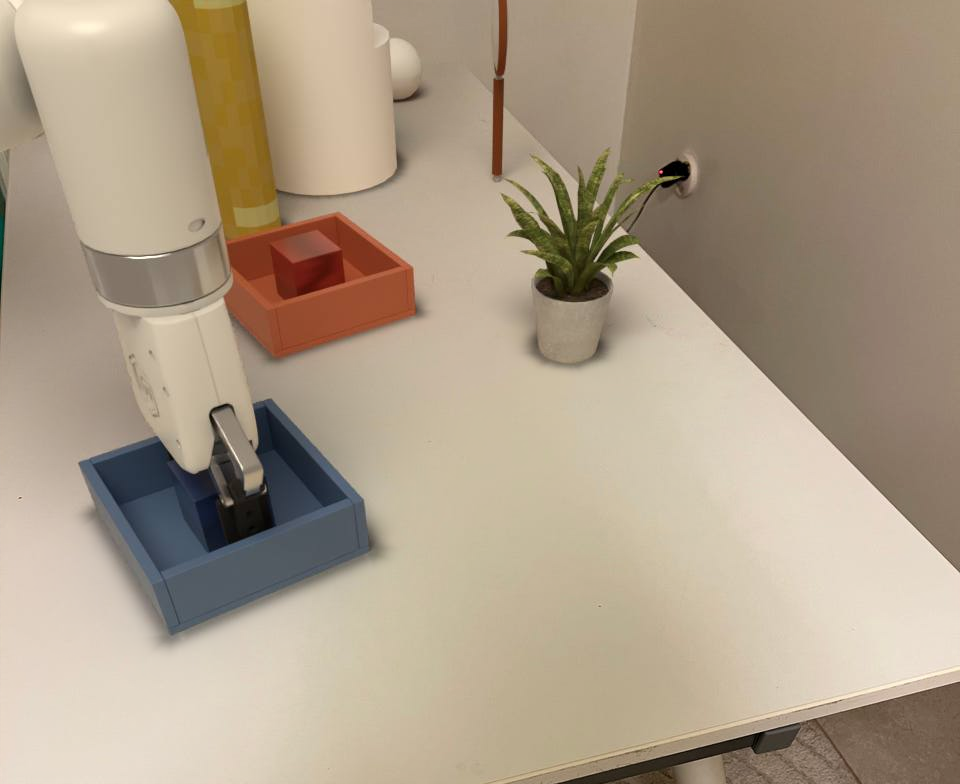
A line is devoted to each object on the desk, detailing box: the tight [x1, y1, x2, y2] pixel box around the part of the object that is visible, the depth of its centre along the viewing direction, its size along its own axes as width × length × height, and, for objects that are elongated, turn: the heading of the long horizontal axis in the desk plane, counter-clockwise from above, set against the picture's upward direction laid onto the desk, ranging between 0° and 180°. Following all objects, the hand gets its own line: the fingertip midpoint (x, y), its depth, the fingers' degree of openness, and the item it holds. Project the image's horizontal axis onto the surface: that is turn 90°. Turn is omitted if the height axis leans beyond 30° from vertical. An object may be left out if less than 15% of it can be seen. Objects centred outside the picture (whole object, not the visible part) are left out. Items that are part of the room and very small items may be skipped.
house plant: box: [499, 147, 686, 364], centre depth 76 cm, size 14×14×16 cm
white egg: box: [389, 37, 423, 101], centre depth 125 cm, size 10×7×7 cm
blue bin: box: [77, 397, 371, 636], centre depth 63 cm, size 15×15×5 cm
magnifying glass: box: [490, 0, 509, 183], centre depth 100 cm, size 9×2×20 cm, turn 3°
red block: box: [269, 230, 345, 300], centre depth 85 cm, size 5×5×5 cm
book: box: [168, 0, 282, 240], centre depth 91 cm, size 17×7×25 cm, turn 55°
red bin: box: [223, 211, 417, 360], centre depth 85 cm, size 15×15×5 cm
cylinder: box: [247, 0, 398, 196], centre depth 100 cm, size 17×17×28 cm
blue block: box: [167, 443, 276, 553], centre depth 62 cm, size 5×5×5 cm
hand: (222, 502), depth 62 cm, fingers open, 9 cm apart
